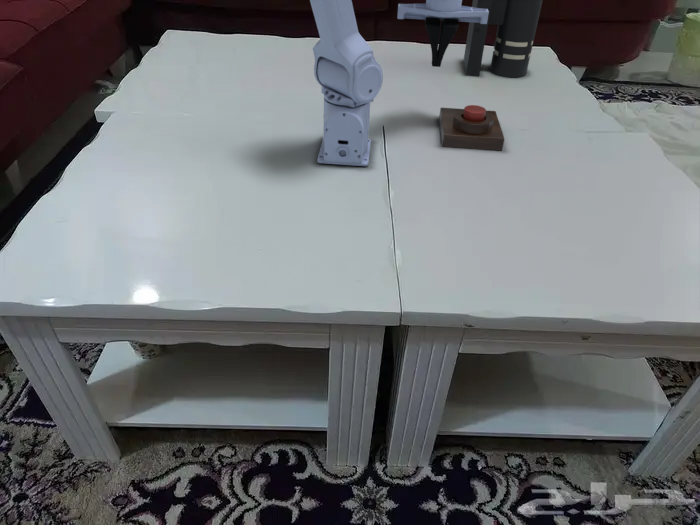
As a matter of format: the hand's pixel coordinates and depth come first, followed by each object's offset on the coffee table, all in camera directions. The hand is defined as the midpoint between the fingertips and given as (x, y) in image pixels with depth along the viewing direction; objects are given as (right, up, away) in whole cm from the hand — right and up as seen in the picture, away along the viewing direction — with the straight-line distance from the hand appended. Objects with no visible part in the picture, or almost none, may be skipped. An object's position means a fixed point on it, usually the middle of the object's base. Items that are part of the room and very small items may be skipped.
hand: (436, 64), depth 98 cm
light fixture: (+18, +9, +31) cm, 37 cm away
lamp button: (+6, -10, -1) cm, 11 cm away
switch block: (+6, -11, +3) cm, 13 cm away
